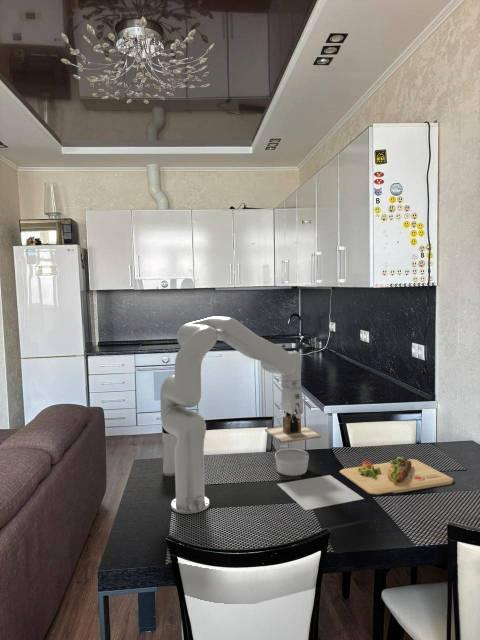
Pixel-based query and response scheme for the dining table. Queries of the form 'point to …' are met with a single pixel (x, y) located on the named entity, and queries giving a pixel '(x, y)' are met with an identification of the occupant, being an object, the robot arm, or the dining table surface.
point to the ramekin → (291, 461)
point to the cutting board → (395, 476)
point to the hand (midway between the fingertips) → (291, 430)
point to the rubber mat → (319, 492)
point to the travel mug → (168, 453)
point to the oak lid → (286, 436)
